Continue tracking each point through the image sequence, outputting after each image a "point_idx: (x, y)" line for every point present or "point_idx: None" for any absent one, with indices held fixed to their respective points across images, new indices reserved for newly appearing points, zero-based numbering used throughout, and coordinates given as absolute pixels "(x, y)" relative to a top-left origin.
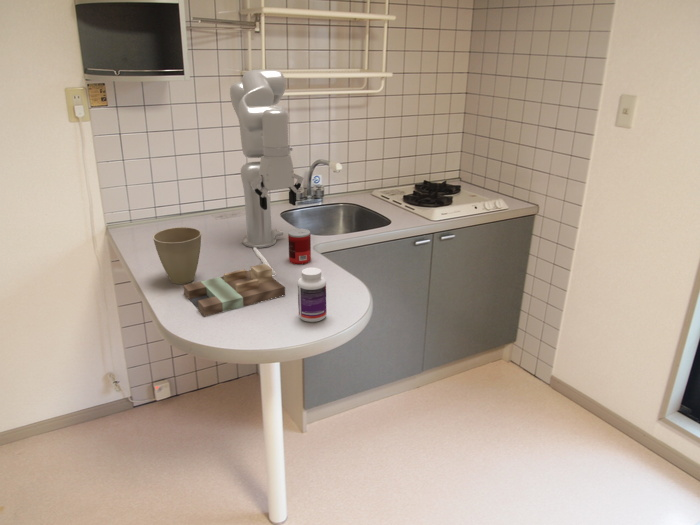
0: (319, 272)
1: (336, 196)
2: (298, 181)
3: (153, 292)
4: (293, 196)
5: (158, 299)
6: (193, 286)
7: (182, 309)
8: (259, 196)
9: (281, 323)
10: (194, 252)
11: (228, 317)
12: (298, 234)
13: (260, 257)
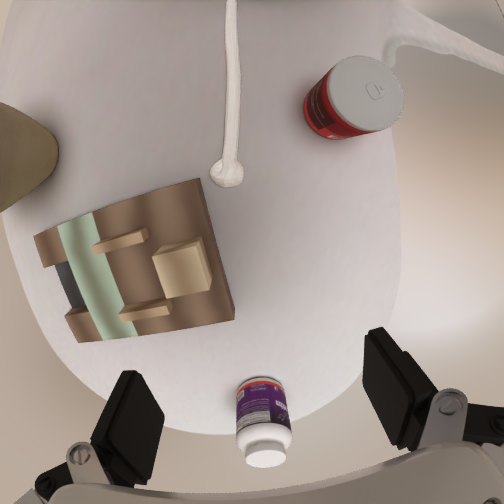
0: (278, 464)
1: None
2: (499, 467)
3: (8, 207)
4: (388, 430)
5: (16, 240)
6: (48, 249)
7: (51, 294)
8: (89, 448)
9: (205, 393)
10: (11, 198)
11: (121, 350)
12: (361, 104)
13: (227, 62)
